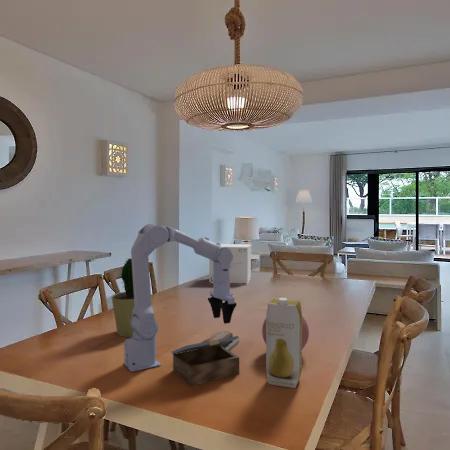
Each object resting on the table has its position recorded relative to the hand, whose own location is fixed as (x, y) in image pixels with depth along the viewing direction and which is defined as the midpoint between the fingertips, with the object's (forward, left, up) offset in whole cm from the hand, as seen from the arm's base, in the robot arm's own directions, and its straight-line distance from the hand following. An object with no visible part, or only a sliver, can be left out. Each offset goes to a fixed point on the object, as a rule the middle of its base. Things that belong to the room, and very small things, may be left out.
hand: (221, 320), depth 137 cm
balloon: (+14, -17, -10) cm, 24 cm away
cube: (+68, +110, -11) cm, 130 cm away
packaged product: (-2, +1, -11) cm, 11 cm away
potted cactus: (-22, +34, -10) cm, 42 cm away
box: (-14, -15, -10) cm, 23 cm away
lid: (-14, -15, -3) cm, 20 cm away
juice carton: (+2, -32, -10) cm, 33 cm away
